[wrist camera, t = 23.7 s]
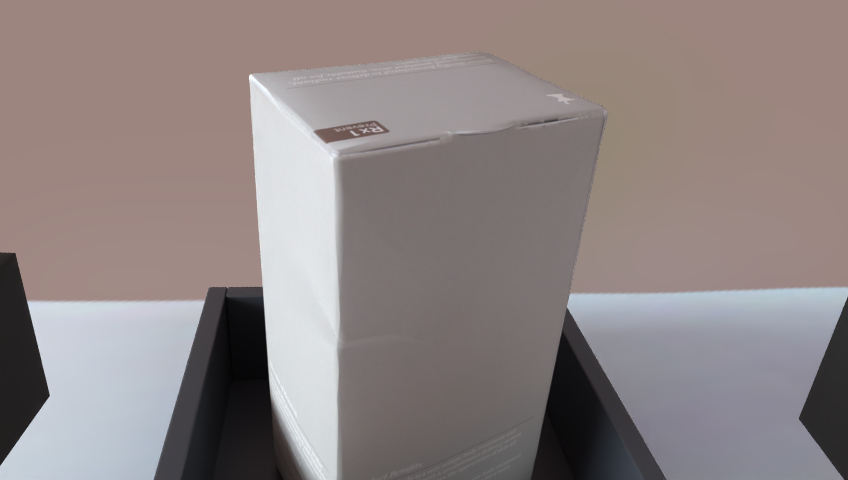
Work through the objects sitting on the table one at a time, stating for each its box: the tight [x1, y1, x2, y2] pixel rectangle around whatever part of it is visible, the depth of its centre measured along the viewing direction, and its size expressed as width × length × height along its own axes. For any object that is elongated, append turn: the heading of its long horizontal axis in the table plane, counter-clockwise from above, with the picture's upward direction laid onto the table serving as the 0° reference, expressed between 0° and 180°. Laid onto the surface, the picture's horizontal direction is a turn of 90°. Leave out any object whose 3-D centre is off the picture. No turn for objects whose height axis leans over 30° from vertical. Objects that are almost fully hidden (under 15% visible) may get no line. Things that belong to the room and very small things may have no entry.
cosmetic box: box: [249, 52, 608, 480], centre depth 22 cm, size 8×7×16 cm
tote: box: [154, 287, 666, 480], centre depth 25 cm, size 16×16×5 cm
